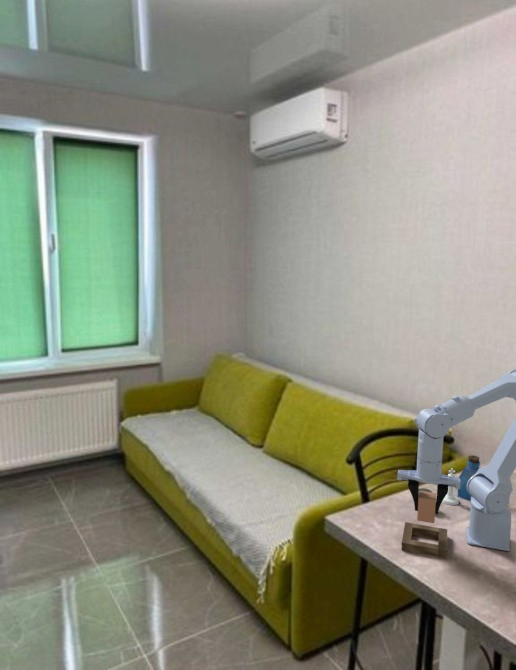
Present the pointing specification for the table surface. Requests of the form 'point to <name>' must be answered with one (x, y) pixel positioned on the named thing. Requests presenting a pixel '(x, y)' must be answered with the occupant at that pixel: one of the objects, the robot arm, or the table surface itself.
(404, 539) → the walnut collar
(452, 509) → the table surface
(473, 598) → the table surface
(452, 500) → the chess piece
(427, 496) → the terracotta block
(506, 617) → the table surface
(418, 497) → the metal cylinder
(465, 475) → the perfume bottle
